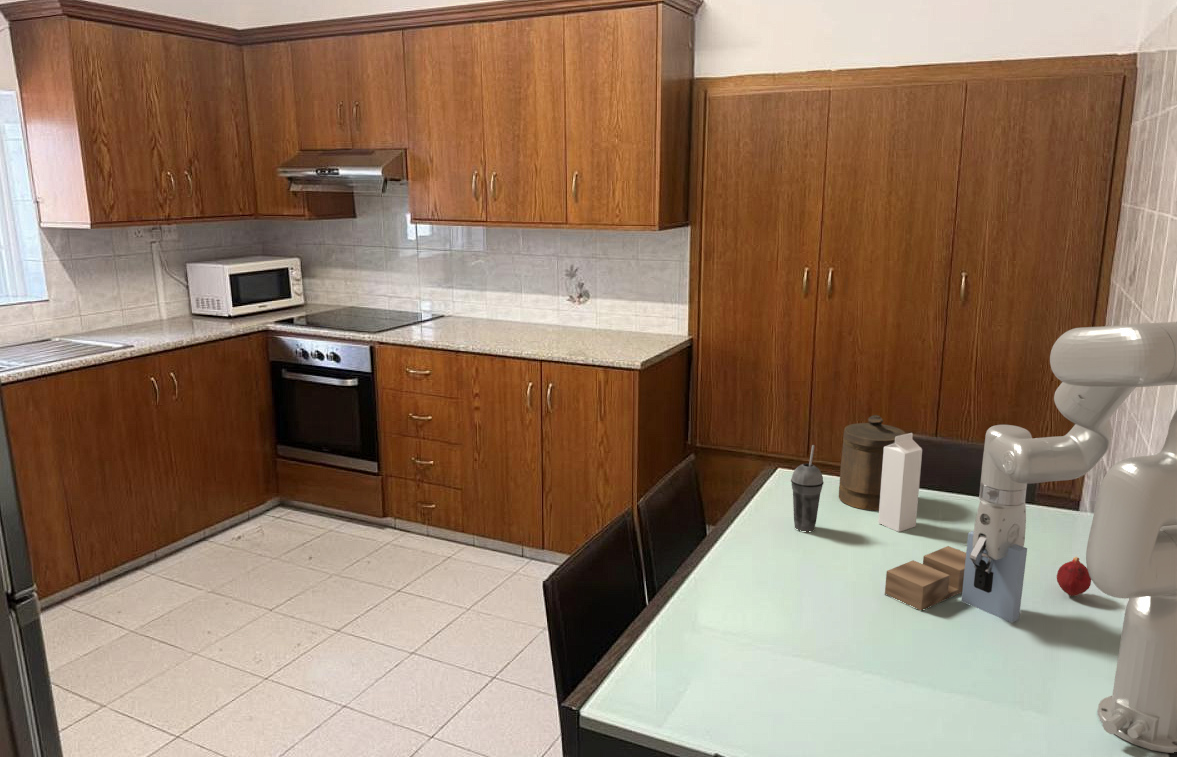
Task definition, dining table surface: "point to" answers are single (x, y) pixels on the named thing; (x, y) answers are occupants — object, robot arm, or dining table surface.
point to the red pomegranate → (1073, 577)
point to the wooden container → (864, 462)
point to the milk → (900, 483)
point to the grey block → (997, 583)
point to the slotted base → (928, 578)
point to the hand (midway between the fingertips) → (992, 584)
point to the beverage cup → (806, 495)
